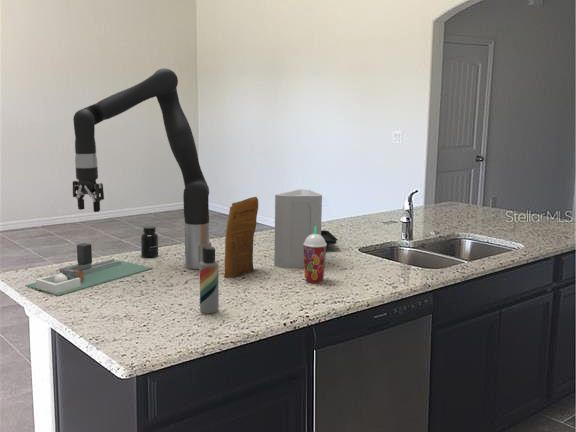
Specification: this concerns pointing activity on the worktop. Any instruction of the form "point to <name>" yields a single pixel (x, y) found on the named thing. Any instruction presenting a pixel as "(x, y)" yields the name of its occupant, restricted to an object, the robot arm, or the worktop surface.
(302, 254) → the paper bag
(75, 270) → the block
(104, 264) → the rail
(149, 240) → the supplement bottle
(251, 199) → the pancake mix bag
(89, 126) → the robot arm
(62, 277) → the ball
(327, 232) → the tray
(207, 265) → the lotion bottle
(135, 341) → the worktop surface
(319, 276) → the smoothie
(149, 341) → the worktop surface
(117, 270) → the field
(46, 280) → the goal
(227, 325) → the worktop surface
